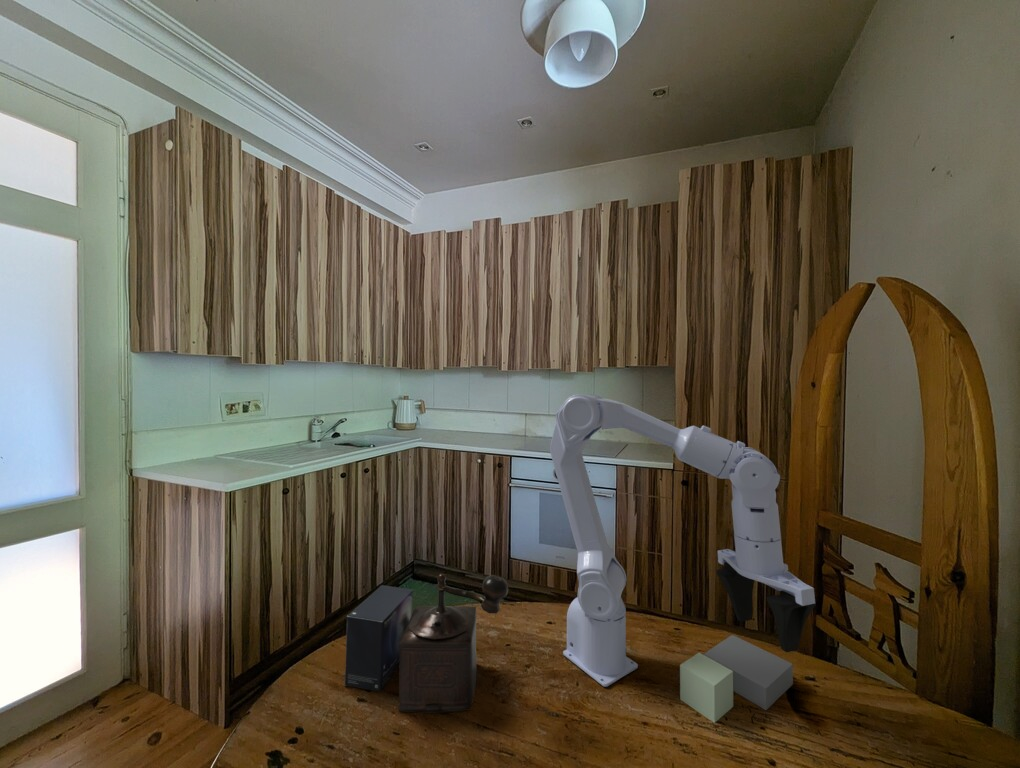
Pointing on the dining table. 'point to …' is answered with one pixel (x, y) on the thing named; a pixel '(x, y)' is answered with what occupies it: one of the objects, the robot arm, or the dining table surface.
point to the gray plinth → (753, 670)
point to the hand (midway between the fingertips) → (765, 633)
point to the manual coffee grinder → (443, 651)
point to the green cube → (706, 686)
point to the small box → (376, 637)
